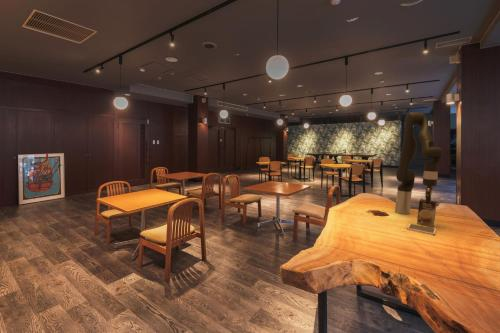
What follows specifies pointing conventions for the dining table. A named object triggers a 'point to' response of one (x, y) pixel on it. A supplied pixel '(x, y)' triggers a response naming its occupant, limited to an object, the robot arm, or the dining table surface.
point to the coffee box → (426, 213)
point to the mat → (421, 229)
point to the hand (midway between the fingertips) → (428, 202)
